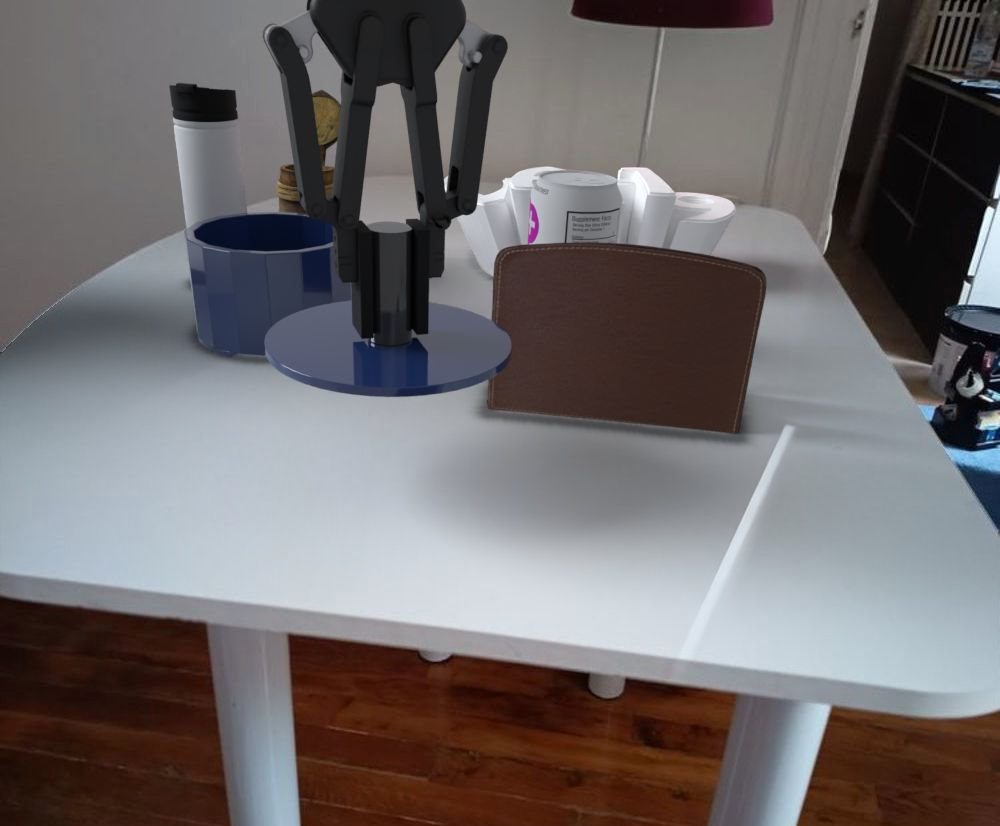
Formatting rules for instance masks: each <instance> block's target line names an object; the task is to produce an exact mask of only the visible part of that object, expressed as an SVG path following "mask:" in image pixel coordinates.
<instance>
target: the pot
mask: <svg viewBox="0 0 1000 826" xmlns="http://www.w3.org/2000/svg"><path fill="white" fill-rule="evenodd" d="M183 233H184V240H185V241H184V242H185V250H186V255H187V256H186V257H187V264H188V272H189V279H190V288H191V296H192V304H193V312H194V317H195V318H194V320H195V328H196V332H197V337H198V338H197V339H198V341H199V343H200V344H201V345H202V346H203V347H204V348H205V349H207V350H209V351H211V352H213V353H215V354H217V355H221V356H224V357H228V358H232V357H235V356H237V355H248V356H265V357H266V353H265V346H264V341H265V336H266V334H267V332H268V330H269V329H270V328H271V327H272V326H273V325H274V324H276V323H277V322H278V321H280V320H281V319H283V318H285V317H287V316H289V315H291V314H294V313H296V312H299V311H302V310H305V309H308V308H312V307H316V306H320V305H324V304H330V303H335V302H343V301H352V292H351V282H350V283H342V282H341V280H340V279H339V277H338V275H337V273H336V271H335V269H334V251H333V228H332V225H331V224H329V223H327V222H324V221H321V220H314V219H312V218H310V217H309V216H308V214H304V213H286V212H279V211H260V212H259V211H258V212H247V213H240V214H233V215H225V216H218V217H214V218H210V219H207V220H203V221H200V222H196V223H194V224H193V225H192V226H190V227H189V228H188V229H187V228H185V230H184V231H183Z"/></svg>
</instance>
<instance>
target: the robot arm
mask: <svg viewBox="0 0 1000 826" xmlns="http://www.w3.org/2000/svg"><path fill="white" fill-rule="evenodd" d="M316 34H317V35H318V37H319V38H320V40H321V41H322V42H323V44H324V45H325V47H326V49H328V51H329V53H330V54H331V56H332V57H333V59H334V60H335V62H336V63H337V64H338V66H339V68H340V69H341V79H340V97H341V98H340V105H341V108H340V118H339V128H338V138H337V142H336V148H335V158H334V178H333V188H332V198H331V197H328V196H326V192H325V185H324V178H323V171H322V163H321V156H320V149H319V142H318V134H317V127H316V120H315V113H314V105H313V98H312V93H313V91H312V85H311V79H310V76H309V75H310V74H309V72H308V69H307V66H306V64H308V63H309V62H311V60H312V59H313V56H314V49H313V44H312V43H313V38H314V37H315V35H316ZM262 40H263V42H264V44H265V46H266V48H267V50H268V52H269V54H270V56H271V58H272V60H273V62H274V64H275V66H276V68H277V71H278V72H279V76H280V84H281V90H282V97H283V102H284V108H285V116H286V122H287V129H288V136H289V141H290V149H291V153H292V163H293V164H294V169H295V175H296V182H297V188H298V195H299V201H300V204H301V206H302V207H303V209H304V210H305V211H306V213H307V214H308V216H309V217H310V218H312V219H314V220H321V221H324V222H327V223H329V224H331V225H332V228H333V251H334V269H335V271H336V273H337V275H338V277H339V279H340V280H341V282H342V283H350V282H351V292H352V324H353V326H354V327H355V329H356V331H357V332H358V334H359V335H360V337H361V339H368V338H374V324H373V263H372V231H371V230H370V229H369V228H368V227H367V224H366V223H365V222H364V221H363V220H361V219H360V218H361V209H362V199H363V190H364V182H365V174H366V165H367V156H368V147H369V138H370V130H371V122H372V113H373V107H374V106H375V104H376V103H375V102H376V97H377V88H378V87H383V86H385V85H390V84H395V85H399V89H400V93H401V94H400V95H401V98H402V100H403V105H404V112H405V122H406V128H407V136H408V144H409V152H410V153H409V154H410V160H411V167H412V176H413V184H414V192H415V200H416V206H417V207H416V208H417V211H418V214H419V218H405V224H408V225H410V226H412V228H413V294H412V329H413V331H414V332H415V333H416V334H417V335H422V334H428V326H429V302H430V279H439V278H442V276H443V273H444V271H445V255H446V254H445V251H446V250H445V249H446V230H448V229H449V228H450V226H451V224H452V222H453V221H452V220H454V219H457V217H459V216H461V215H471V214H472V213H473V212H474V211H475V210H476V207H477V200H478V193H479V191H480V185H481V177H482V176H481V175H482V169H483V162H484V161H483V160H484V154H485V153H484V152H485V148H486V139H487V131H488V125H489V116H490V107H491V102H492V101H491V100H492V93H493V86H494V81H495V78H496V76H497V74H498V72H499V70H500V68H501V65H503V62H504V59H505V57H506V55H507V52H508V49H509V44H508V41H507V39H506V38H505V37H504V36H503V35H500V34H497V33H494V32H489V31H487V30H485V29H483V28H482V27H481V26H479V25H477V24H476V23H474V22H473V21H471V20H469V19H467V10H466V6H465V4H464V2H463V0H307V1H306V10H305V11H303V12H301V13H300V14H297V15H296V16H293V17H292V18H290V19H287V20H286V21H284V22H282V23H280V24H277V23H269V24H267V25H266V26H265V27H264V28H263V31H262ZM457 41H458V44H459V45H458V46H459V47H458V52H457V56H458V60H459V62H460V63H461V65H462V67H461V70H460V74H459V80H458V86H457V96H456V102H455V103H456V105H455V113H454V120H453V121H454V122H453V131H452V138H451V139H452V140H451V148H450V155H449V156H450V158H449V165H448V174H447V176H448V182H447V190H446V192H445V184H444V179H445V177H444V168H443V167H444V165H443V158H442V149H441V141H440V140H441V139H440V129H439V122H438V111H437V103H438V89H437V81H436V72H437V71H438V69H439V67H440V66H441V64H442V63H443V61H444V59H445V58H446V57H447V55H448V53H449V52H450V50H451V49H452V48H453V46H454V44H455V43H456V42H457ZM479 194H480V193H479Z"/></svg>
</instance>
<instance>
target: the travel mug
mask: <svg viewBox="0 0 1000 826" xmlns="http://www.w3.org/2000/svg"><path fill="white" fill-rule="evenodd" d="M168 87H169V88H168V89H169V94H170V95H169V96H170V101H171V102H170V104H171V107H172V111H171V112H172V123H173V124H174V125H173V132H174V139H175V148H176V156H177V164H178V171H179V172H178V173H179V178H180V189H181V194H182V195H181V196H182V202H183V203H182V204H183V211H184V220H185V227H186V228H185V229H188V228H189V227H190V226H192V225H193V224H194V223H196V222H200V221H203V220H207V219H210V218H214V217H218V216H225V215H233V214H240V213H248V205H247V194H246V183H245V173H244V161H243V151H242V141H241V129H240V125H239V123H240V118H239V114H238V110H237V108H238V103H237V93H236V90H235V89H227V88H224V89H223V88H222V89H221V88H210V87H204V86H198V84H197V83H188V82H187V83H186V82H176V83H175V85H173V84H169V86H168Z"/></svg>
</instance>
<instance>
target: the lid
mask: <svg viewBox="0 0 1000 826" xmlns="http://www.w3.org/2000/svg"><path fill="white" fill-rule="evenodd" d="M366 226H367V227H368V228H369V229H370V230H371V231H372V263H373V324H374V338H368V339H361V337H360V335H359V334H358V332H357V331H356V329H355V327H354V326H353V324H352V301H343V302H335V303H330V304H324V305H320V306H316V307H312V308H308V309H305V310H302V311H299V312H296V313H294V314H291V315H289V316H287V317H285V318H283V319H281V320H280V321H278V322H277V323H276V324H274V325H273V326H272V327H271V328H270V329H269V330H268V332H267V334H266V336H265V341H264V346H265V353H266V356H265V357H266V359H267V361H268V362H269V364H271V366H272V367H273V368H274V369H275V370H277V371H278V372H279V373H280V374H283V375H284V376H286V377H288V378H290V379H292V380H293V381H297V382H299V383H301V384H303V385H304V384H305V385H307V386H310V387H313V388H317V389H320V390H325V391H329V392H333V393H338V394H339V393H340V394H345V395H352V396H362V397H376V398H377V397H379V398H409V397H410V398H411V397H423V396H424V397H425V396H432V395H439V394H446V393H450V392H455V391H460V390H463V389H467V388H470V387H473V386H476V385H479V384H482V383H484V382H486V381H489V379H490V378H492V377H494V376H495V375H497V374H498V373H500V372H501V371H502V370H503V369H504V368H505V367H506V366H507V365H508V363H509V361H510V359H511V355H512V341H511V339H510V337H509V335H508V334H507V332H506V331H505V330H504V329H503V328H502V327H500V326H499V325H498V324H496V323H495V322H493V321H492V319H490V318H487V317H485V316H483V315H481V314H478V313H476V312H473V311H470V310H468V309H463V308H460V307H456V306H452V305H448V304H442V303H437V302H430V301H429V326H428V334H422V335H417V334H416V333H415V332H414V331H413V329H412V294H413V228H412V226H410V225H408V224H406V222H399V221H376V222H371V223H368V224H366Z"/></svg>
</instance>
